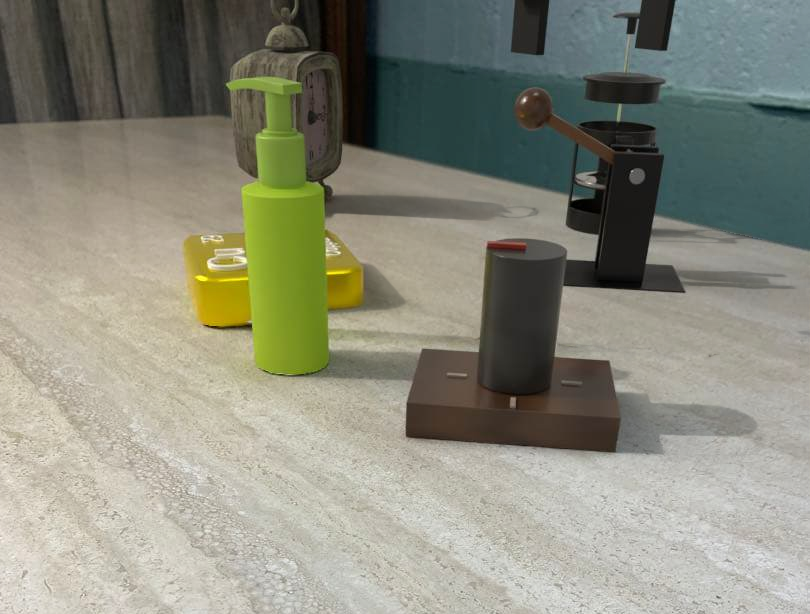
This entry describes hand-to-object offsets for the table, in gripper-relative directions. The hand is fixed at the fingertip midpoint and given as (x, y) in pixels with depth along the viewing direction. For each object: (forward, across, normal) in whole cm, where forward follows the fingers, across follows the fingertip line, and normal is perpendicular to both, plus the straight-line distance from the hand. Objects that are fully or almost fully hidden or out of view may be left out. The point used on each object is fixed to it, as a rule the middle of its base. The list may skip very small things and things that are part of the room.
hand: (591, 52), depth 66 cm
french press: (+22, -27, -19) cm, 39 cm away
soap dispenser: (+22, +25, -6) cm, 33 cm away
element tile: (+22, +18, -20) cm, 35 cm away
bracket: (+21, -13, -5) cm, 25 cm away
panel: (+21, +16, +12) cm, 29 cm away
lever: (+9, -9, -9) cm, 15 cm away
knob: (+19, +16, +12) cm, 28 cm away
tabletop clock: (+22, -3, -52) cm, 57 cm away
